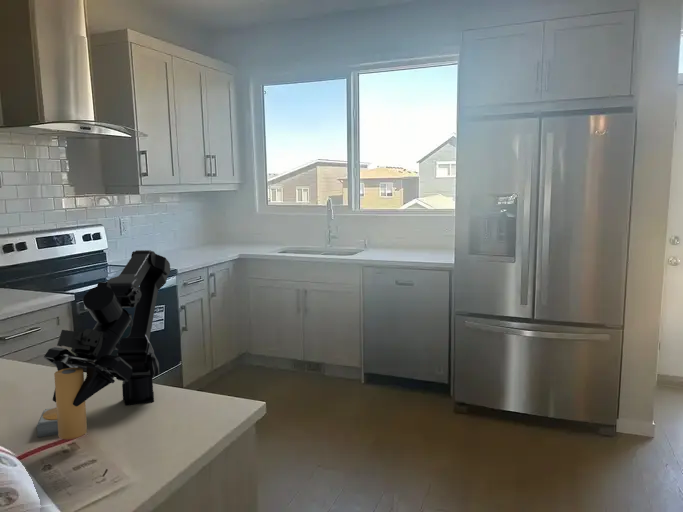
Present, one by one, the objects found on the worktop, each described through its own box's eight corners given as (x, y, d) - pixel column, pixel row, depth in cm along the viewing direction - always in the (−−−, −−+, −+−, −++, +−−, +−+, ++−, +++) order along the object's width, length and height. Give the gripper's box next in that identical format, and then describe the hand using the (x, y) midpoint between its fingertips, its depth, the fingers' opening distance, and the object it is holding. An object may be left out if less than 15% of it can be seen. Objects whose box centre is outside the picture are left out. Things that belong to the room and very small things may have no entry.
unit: (85, 415, 117) (84, 402, 117) (80, 431, 110) (80, 416, 109) (44, 421, 114) (43, 407, 114) (37, 437, 107) (36, 422, 106)
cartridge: (88, 426, 105) (84, 365, 104) (85, 436, 101) (81, 373, 99) (60, 430, 103) (56, 368, 102) (56, 441, 99) (52, 376, 97)
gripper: (49, 308, 107) (0, 378, 98) (118, 316, 100) (72, 391, 91) (83, 336, 115) (41, 403, 106) (149, 345, 108) (110, 417, 99)
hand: (64, 403), depth 100 cm, fingers closed on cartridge, 5 cm apart
